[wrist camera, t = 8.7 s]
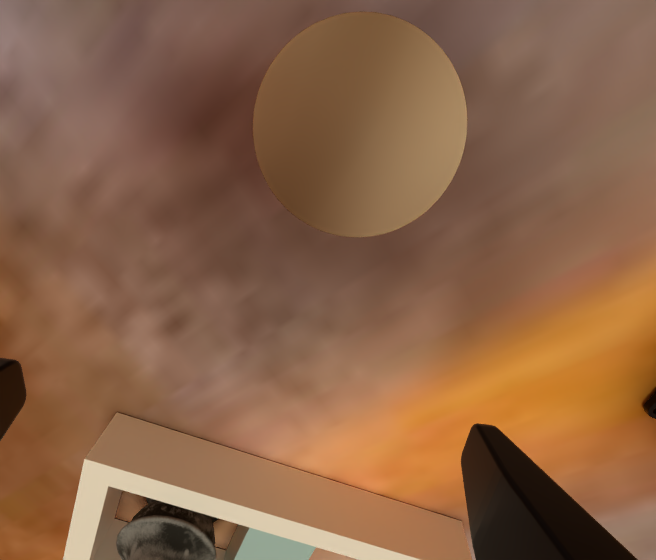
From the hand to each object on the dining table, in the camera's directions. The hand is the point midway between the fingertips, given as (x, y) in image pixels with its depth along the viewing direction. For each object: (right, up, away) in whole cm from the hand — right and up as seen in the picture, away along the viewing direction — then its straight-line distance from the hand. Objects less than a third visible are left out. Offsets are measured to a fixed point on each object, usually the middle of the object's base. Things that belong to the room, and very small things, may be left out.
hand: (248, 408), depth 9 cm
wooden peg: (+3, +10, +10) cm, 14 cm away
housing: (-2, -14, +21) cm, 25 cm away
